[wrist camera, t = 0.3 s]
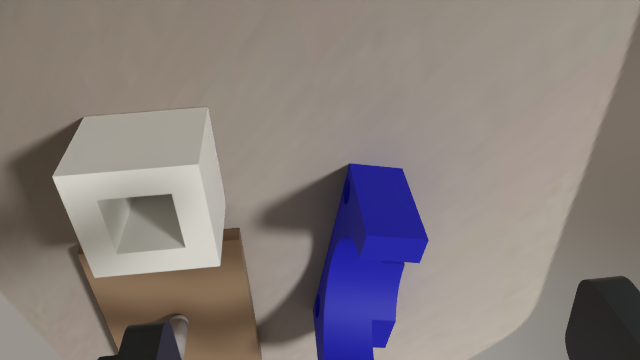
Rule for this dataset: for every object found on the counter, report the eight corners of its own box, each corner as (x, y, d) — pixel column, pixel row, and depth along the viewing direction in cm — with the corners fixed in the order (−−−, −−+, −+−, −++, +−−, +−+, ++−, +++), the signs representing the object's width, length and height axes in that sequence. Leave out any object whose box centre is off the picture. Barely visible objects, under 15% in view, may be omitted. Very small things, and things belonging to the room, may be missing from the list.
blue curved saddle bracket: (377, 311, 37) (394, 389, 32) (312, 308, 36) (320, 388, 32) (427, 169, 30) (458, 242, 25) (349, 161, 29) (366, 235, 25)
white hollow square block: (84, 116, 26) (52, 176, 22) (207, 106, 27) (198, 164, 23) (116, 211, 30) (94, 277, 26) (225, 202, 30) (220, 266, 26)
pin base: (82, 242, 31) (57, 304, 27) (239, 228, 31) (236, 287, 28) (133, 367, 38) (120, 430, 34) (261, 354, 38) (261, 415, 35)
